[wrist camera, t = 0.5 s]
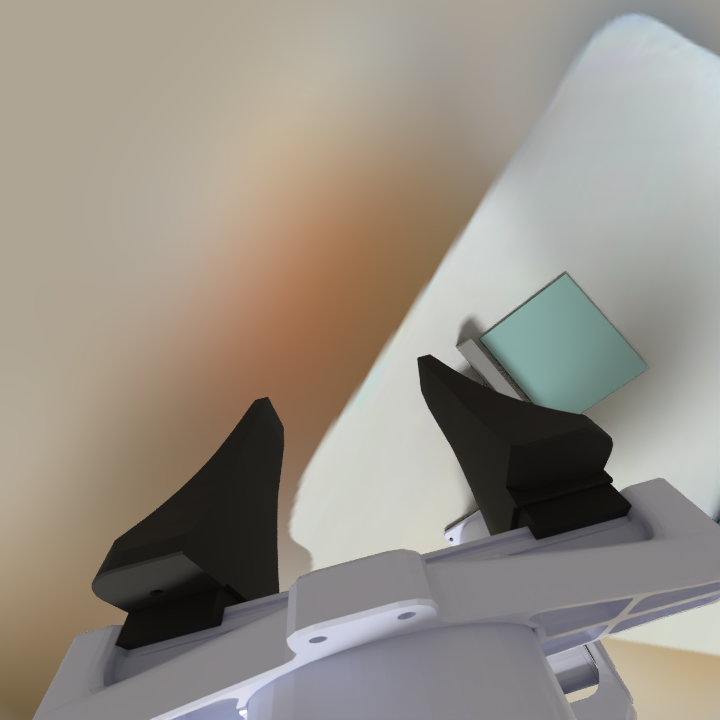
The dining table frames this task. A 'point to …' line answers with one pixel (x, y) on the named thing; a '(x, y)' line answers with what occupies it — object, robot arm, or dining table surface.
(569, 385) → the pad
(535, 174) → the dining table surface
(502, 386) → the long grey bar
